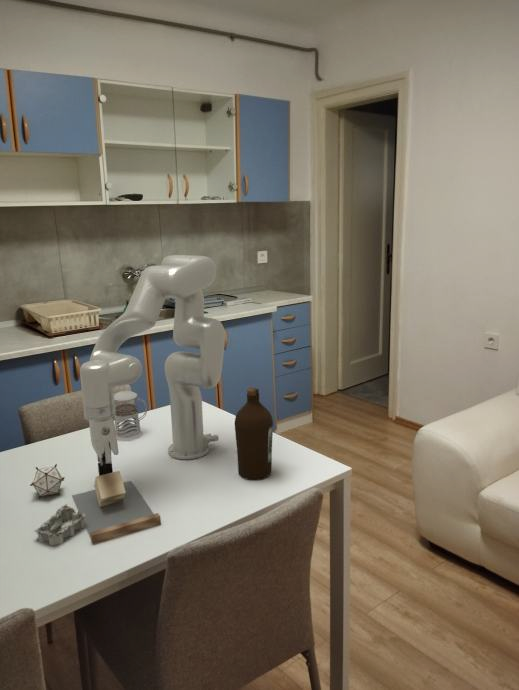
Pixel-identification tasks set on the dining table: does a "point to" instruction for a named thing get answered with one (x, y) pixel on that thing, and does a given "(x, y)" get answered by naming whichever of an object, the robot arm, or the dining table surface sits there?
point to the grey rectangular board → (111, 509)
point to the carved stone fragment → (53, 526)
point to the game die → (47, 481)
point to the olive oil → (254, 438)
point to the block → (109, 489)
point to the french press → (127, 417)
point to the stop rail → (125, 528)
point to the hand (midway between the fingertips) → (106, 477)
